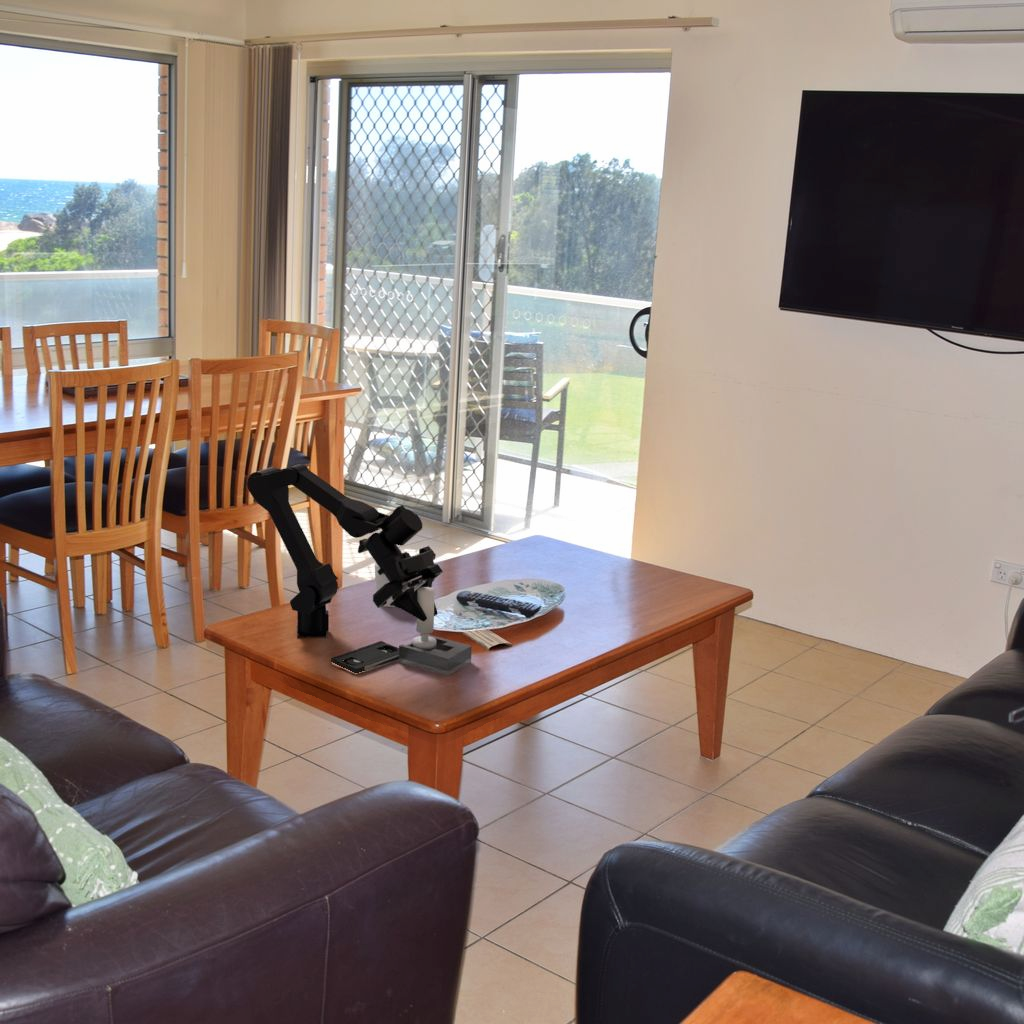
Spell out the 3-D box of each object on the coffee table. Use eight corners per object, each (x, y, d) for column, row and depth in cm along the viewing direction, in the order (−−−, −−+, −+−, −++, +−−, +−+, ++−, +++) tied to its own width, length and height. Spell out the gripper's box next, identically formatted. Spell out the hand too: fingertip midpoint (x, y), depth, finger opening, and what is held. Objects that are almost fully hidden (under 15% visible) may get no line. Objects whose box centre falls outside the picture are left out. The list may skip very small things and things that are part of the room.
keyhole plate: (398, 662, 251) (399, 645, 250) (422, 649, 259) (423, 633, 258) (447, 675, 246) (448, 658, 245) (471, 662, 253) (471, 645, 252)
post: (409, 648, 251) (411, 592, 248) (417, 639, 256) (418, 584, 252) (432, 651, 250) (433, 594, 247) (439, 642, 255) (441, 587, 251)
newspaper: (436, 619, 280) (436, 612, 279) (462, 614, 283) (462, 607, 283) (488, 653, 261) (488, 645, 260) (515, 647, 264) (515, 640, 264)
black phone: (356, 677, 244) (356, 668, 244) (330, 666, 249) (331, 657, 249) (406, 659, 255) (406, 650, 254) (380, 649, 260) (381, 640, 259)
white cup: (368, 605, 285) (368, 565, 283) (383, 595, 292) (384, 556, 290) (397, 610, 282) (398, 570, 280) (412, 600, 289) (413, 561, 287)
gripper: (385, 547, 241) (429, 609, 238) (436, 527, 256) (478, 586, 254) (353, 576, 247) (396, 638, 244) (405, 555, 262) (446, 613, 260)
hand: (430, 617), depth 250 cm, fingers closed on post, 4 cm apart
